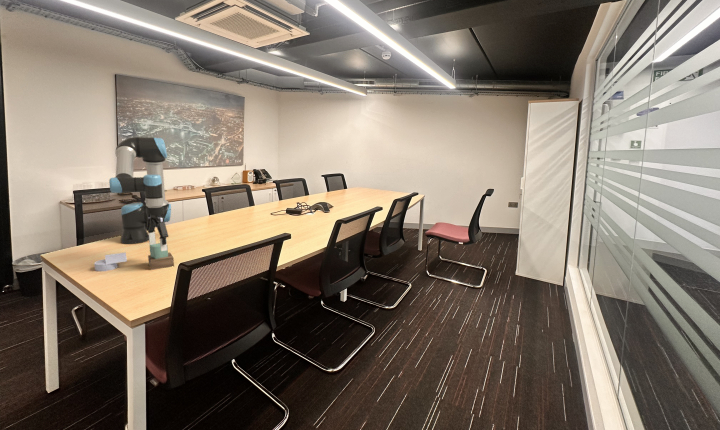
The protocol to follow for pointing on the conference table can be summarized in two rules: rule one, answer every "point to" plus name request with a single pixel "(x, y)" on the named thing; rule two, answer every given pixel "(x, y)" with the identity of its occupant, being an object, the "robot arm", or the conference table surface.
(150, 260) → the walnut block
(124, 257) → the wedge on round base
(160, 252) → the green cube
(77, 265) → the conference table surface
